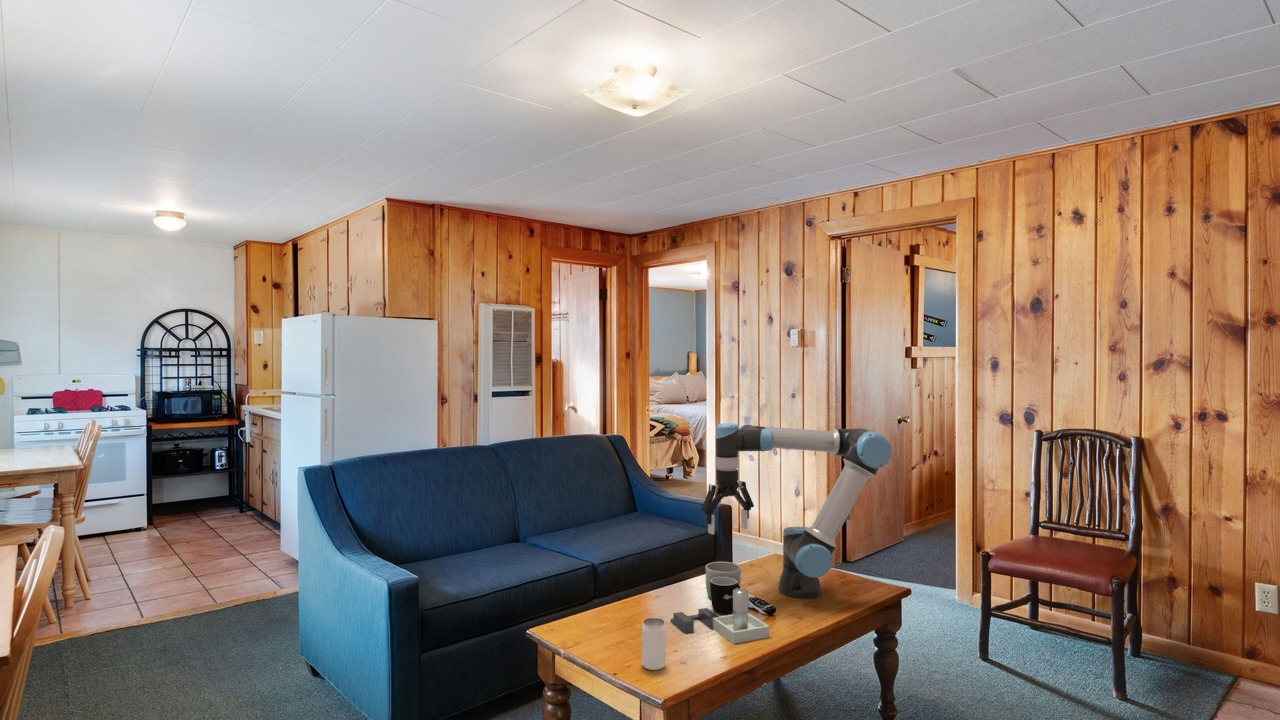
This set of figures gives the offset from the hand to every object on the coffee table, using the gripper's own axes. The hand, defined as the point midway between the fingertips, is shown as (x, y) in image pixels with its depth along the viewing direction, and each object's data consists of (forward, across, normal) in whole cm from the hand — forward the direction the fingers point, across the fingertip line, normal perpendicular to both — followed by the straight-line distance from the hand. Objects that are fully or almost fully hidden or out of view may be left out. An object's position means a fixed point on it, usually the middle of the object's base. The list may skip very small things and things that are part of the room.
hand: (728, 531), depth 234 cm
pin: (+24, +11, +21) cm, 34 cm away
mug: (+25, +4, +4) cm, 26 cm away
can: (+25, +45, +29) cm, 59 cm away
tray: (+25, +11, +21) cm, 35 cm away
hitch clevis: (+25, +20, +11) cm, 34 cm away
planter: (+25, -2, -7) cm, 26 cm away
